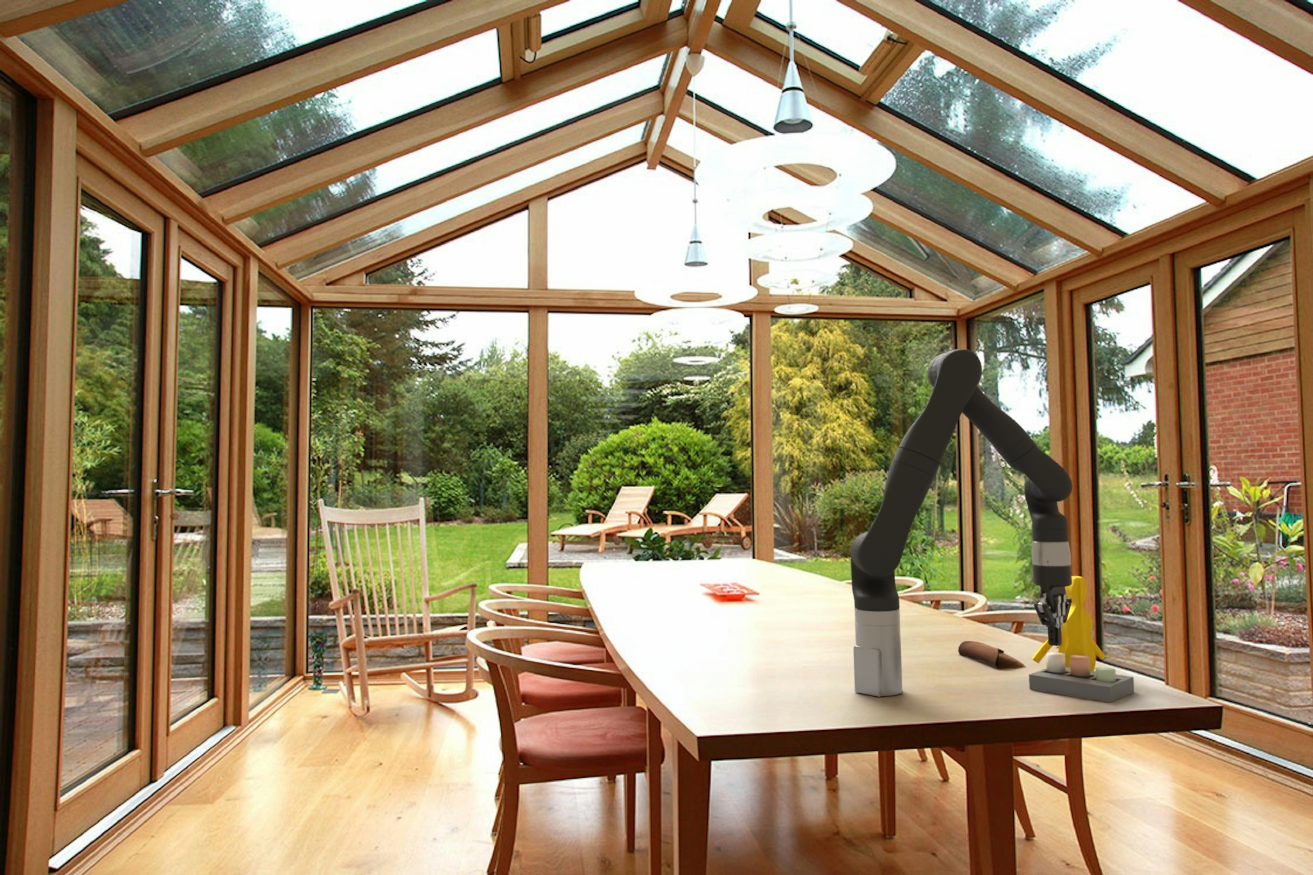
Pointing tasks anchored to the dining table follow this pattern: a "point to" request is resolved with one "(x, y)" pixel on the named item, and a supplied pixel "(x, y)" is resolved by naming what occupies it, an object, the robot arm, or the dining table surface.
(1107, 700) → the button box
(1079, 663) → the terracotta button
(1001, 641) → the dining table surface
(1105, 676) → the sage button
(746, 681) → the dining table surface
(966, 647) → the sunglasses case
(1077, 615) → the figure statuette
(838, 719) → the dining table surface
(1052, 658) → the ivory button
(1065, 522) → the robot arm
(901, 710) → the dining table surface
